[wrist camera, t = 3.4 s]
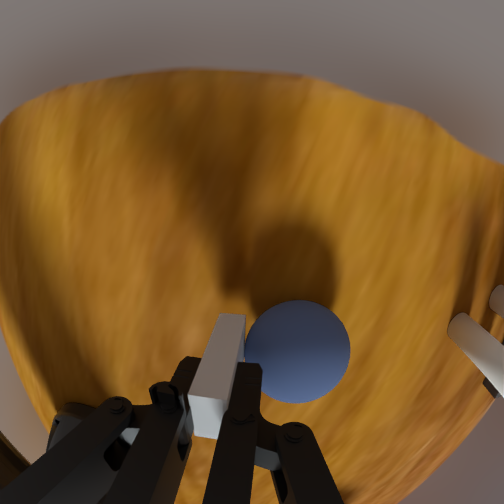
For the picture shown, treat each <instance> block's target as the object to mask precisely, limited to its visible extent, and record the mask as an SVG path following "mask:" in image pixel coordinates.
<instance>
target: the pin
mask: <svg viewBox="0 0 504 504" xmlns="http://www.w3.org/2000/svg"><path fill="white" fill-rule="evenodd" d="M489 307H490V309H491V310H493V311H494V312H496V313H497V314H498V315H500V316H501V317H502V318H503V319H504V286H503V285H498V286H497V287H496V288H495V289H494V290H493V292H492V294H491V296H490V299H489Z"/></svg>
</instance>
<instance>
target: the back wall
mask: <svg viewBox="0 0 504 504" xmlns="http://www.w3.org/2000/svg"><path fill="white" fill-rule="evenodd" d="M502 345H503V346H504V341H503V343H502ZM483 385H484V386H485V387H486V388H487V390H488V391H489V392H490V393H491V395H492V396H493V397H494V398H498V397H500V396H502V395H501V394H500V393H499V391H498V390H497V389H496V388H495V387H494V385H493V384H492V383H491V382H490V381H489V380H488V378H487V377H486V378H485V380H484V381H483Z"/></svg>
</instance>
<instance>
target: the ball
mask: <svg viewBox="0 0 504 504" xmlns="http://www.w3.org/2000/svg"><path fill="white" fill-rule="evenodd" d="M244 357H245V362H248V363H259V364H260V366H261V368H262V370H263V375H262V387H261V391H262V392H264V393H265V394H267V395H268V396H270V397H272V398H274V399H276V400H279V401H282V402H287V403H304V402H309V401H313V400H315V399H318V398H320V397H322V396H324V395H325V394H327V393H328V392H330V391H331V390H332V389H333V388H334V387H335V386H336V385H337V384H338V383H339V381H340V380H341V379H342V377H343V375H344V373H345V372H346V369H347V367H348V363H349V359H350V342H349V337H348V334H347V331H346V329H345V327H344V325H343V323H342V322H341V321H340V319H339V318H338V317H337V316H336V315H335V314H334V313H333V312H332V311H330V310H329V309H328V308H326V307H324V306H322V305H320V304H318V303H315V302H311V301H306V300H292V301H287V302H283V303H280V304H277V305H275V306H273V307H271V308H270V309H268V310H267V311H265V312H264V313H263V314H262V315H260V317H259V318H258V319H257V320H256V321H255V322H254V324H253V325H252V327H251V329H250V331H249V333H248V335H247V339H246V342H245V349H244Z"/></svg>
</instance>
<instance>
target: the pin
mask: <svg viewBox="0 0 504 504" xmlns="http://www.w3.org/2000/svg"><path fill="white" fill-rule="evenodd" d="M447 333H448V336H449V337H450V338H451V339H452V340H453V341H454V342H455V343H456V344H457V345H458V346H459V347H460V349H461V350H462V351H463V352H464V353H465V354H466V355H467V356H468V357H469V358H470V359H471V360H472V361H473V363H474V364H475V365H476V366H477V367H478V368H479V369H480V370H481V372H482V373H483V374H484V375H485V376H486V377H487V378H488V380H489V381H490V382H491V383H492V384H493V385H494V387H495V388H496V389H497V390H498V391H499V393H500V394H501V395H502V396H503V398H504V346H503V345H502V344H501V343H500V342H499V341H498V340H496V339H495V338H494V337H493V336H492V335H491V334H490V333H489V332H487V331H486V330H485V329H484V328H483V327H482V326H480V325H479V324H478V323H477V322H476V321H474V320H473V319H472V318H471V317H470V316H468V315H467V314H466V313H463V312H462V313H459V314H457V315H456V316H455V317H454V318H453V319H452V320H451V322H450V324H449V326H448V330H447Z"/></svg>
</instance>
